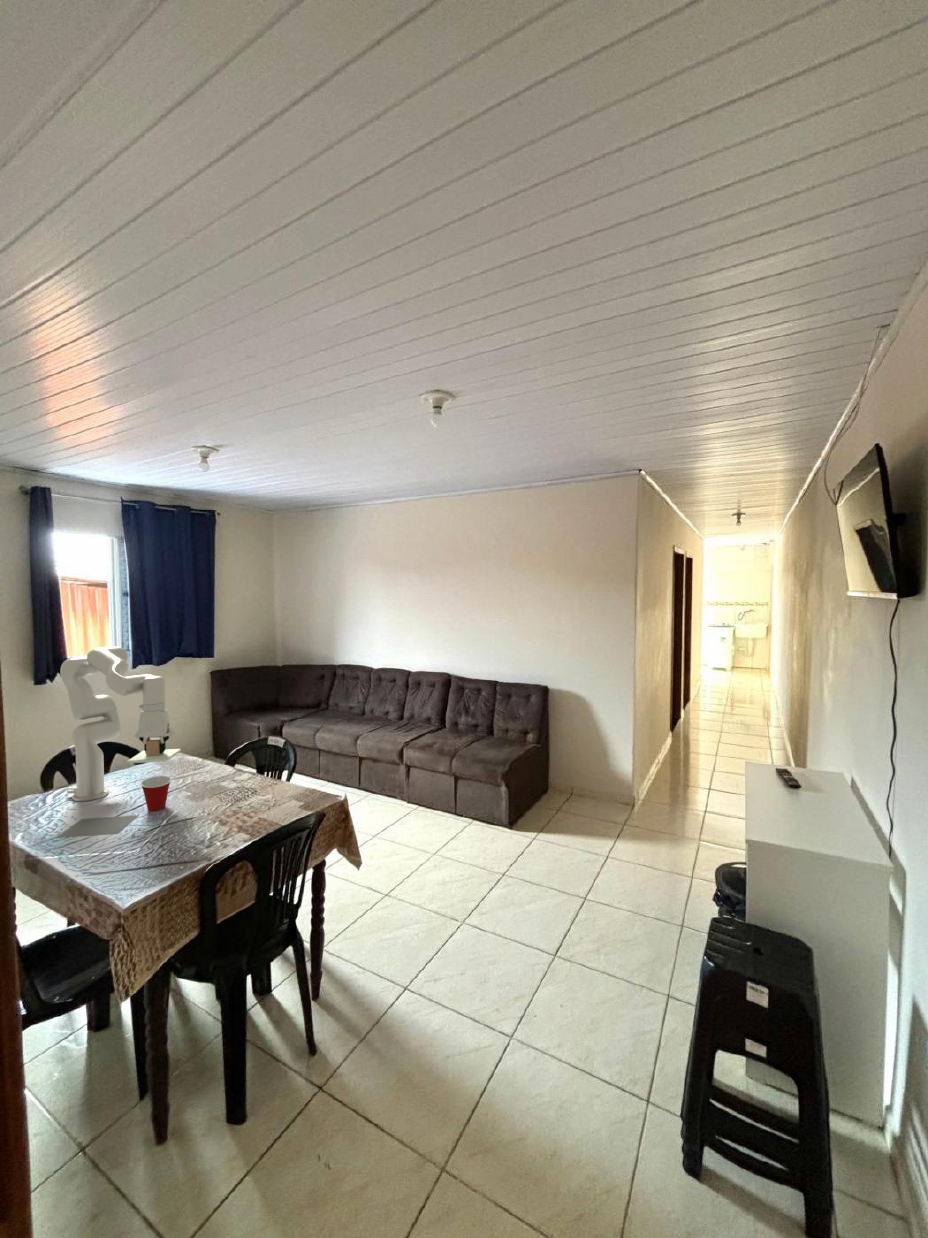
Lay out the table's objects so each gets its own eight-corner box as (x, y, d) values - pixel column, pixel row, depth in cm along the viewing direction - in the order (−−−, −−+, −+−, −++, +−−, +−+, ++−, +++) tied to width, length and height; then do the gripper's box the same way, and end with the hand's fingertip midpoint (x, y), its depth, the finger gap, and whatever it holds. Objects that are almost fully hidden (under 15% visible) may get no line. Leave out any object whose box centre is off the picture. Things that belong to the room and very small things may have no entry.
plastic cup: (141, 817, 198) (140, 787, 197) (140, 808, 207) (139, 779, 206) (173, 811, 204) (173, 781, 204) (170, 802, 213) (170, 773, 212)
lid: (127, 763, 196) (127, 745, 196) (144, 752, 210) (143, 735, 210) (166, 761, 199) (166, 743, 198) (180, 751, 212) (180, 734, 212)
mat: (55, 839, 180) (55, 837, 180) (81, 820, 196) (81, 818, 195) (118, 835, 183) (118, 833, 183) (138, 816, 199) (138, 815, 199)
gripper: (126, 710, 199) (127, 756, 199) (173, 708, 201) (174, 754, 202) (135, 706, 206) (136, 751, 207) (180, 704, 209) (181, 749, 209)
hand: (155, 752), depth 204 cm, fingers closed on lid, 4 cm apart
